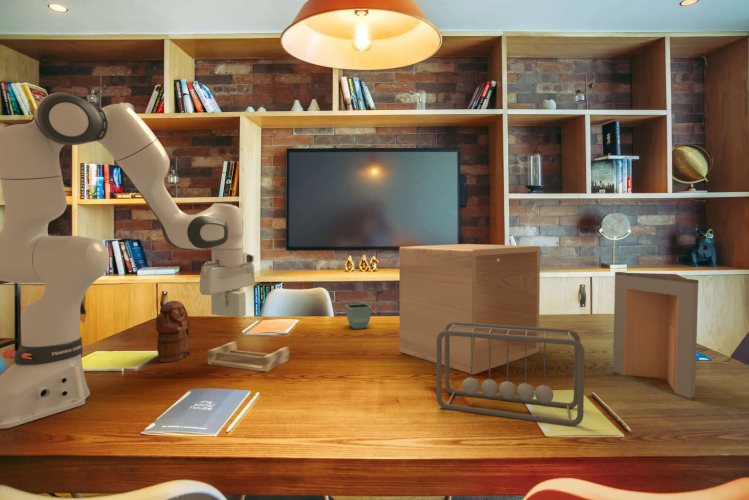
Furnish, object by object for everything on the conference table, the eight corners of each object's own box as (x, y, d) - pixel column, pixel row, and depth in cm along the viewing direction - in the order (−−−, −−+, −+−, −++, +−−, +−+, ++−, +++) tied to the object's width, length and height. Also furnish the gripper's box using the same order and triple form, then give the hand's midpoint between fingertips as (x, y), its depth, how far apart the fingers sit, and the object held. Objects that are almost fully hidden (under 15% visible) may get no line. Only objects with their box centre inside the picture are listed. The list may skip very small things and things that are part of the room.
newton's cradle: (436, 408, 99) (436, 330, 98) (445, 392, 109) (445, 320, 108) (583, 428, 89) (584, 341, 88) (578, 408, 99) (580, 329, 98)
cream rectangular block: (239, 317, 128) (238, 293, 128) (211, 314, 132) (211, 291, 131) (245, 315, 131) (245, 291, 130) (218, 312, 135) (218, 289, 134)
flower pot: (345, 326, 183) (344, 304, 183) (365, 324, 186) (365, 303, 185) (350, 330, 175) (350, 308, 174) (371, 329, 177) (371, 306, 177)
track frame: (266, 371, 125) (266, 357, 125) (207, 364, 133) (207, 350, 132) (289, 359, 136) (289, 347, 136) (234, 353, 144) (233, 341, 144)
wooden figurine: (175, 363, 134) (173, 304, 133) (154, 363, 134) (153, 304, 133) (194, 352, 145) (192, 298, 144) (175, 352, 146) (174, 297, 145)
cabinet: (613, 373, 122) (615, 272, 121) (638, 369, 126) (640, 270, 124) (690, 400, 103) (693, 280, 101) (717, 394, 106) (721, 278, 105)
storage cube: (471, 375, 121) (472, 249, 120) (399, 352, 144) (399, 246, 142) (538, 352, 143) (540, 246, 142) (467, 335, 166) (467, 243, 164)
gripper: (211, 262, 119) (212, 313, 120) (257, 255, 138) (258, 299, 139) (192, 261, 121) (194, 311, 123) (241, 255, 140) (242, 298, 142)
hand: (229, 305), depth 131 cm, fingers closed on cream rectangular block, 3 cm apart
